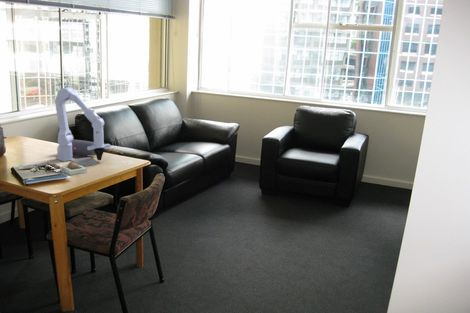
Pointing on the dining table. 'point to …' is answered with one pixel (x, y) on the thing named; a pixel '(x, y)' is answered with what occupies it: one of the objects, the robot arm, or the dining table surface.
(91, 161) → the slab
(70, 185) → the dining table surface
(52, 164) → the bar
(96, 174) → the dining table surface
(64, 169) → the tray
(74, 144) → the bluetooth speaker
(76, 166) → the roller
